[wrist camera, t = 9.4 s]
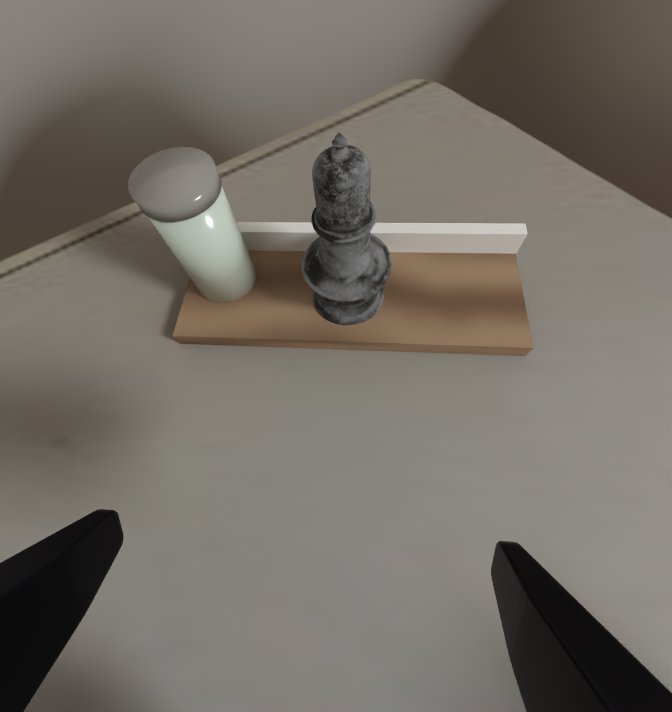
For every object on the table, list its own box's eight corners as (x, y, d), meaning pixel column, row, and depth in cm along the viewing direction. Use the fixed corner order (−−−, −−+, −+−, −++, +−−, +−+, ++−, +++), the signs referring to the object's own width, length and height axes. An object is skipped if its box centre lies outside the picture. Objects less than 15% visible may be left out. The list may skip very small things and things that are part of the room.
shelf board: (525, 355, 24) (533, 348, 23) (180, 343, 27) (172, 335, 25) (507, 254, 28) (513, 243, 27) (206, 250, 30) (201, 240, 29)
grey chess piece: (403, 284, 26) (433, 117, 15) (358, 343, 24) (357, 200, 13) (338, 251, 28) (324, 79, 17) (292, 304, 26) (243, 149, 15)
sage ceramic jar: (199, 311, 26) (128, 216, 18) (194, 262, 28) (127, 157, 20) (262, 295, 27) (220, 195, 18) (252, 248, 29) (210, 139, 20)
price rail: (510, 264, 28) (527, 234, 25) (205, 259, 30) (188, 231, 27) (508, 252, 28) (524, 221, 25) (208, 248, 30) (192, 220, 28)
